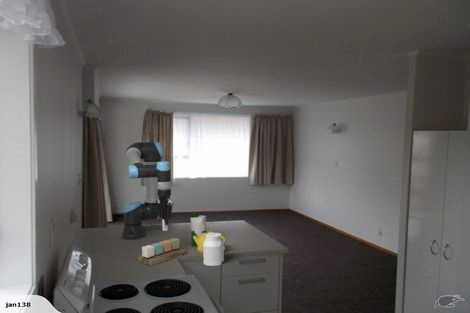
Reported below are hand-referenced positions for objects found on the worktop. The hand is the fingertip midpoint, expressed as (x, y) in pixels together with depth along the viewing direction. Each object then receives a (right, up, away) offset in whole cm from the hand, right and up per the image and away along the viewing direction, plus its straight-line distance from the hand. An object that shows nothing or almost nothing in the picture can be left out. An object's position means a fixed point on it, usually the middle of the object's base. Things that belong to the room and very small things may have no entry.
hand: (165, 230), depth 209 cm
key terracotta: (0, -12, +1) cm, 12 cm away
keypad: (-2, -15, -1) cm, 15 cm away
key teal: (-4, -12, -4) cm, 13 cm away
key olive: (+4, -11, +5) cm, 13 cm away
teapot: (+24, -14, +8) cm, 29 cm away
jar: (+28, -15, -11) cm, 34 cm away
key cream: (-8, -12, -8) cm, 17 cm away
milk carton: (+17, -14, +21) cm, 30 cm away
